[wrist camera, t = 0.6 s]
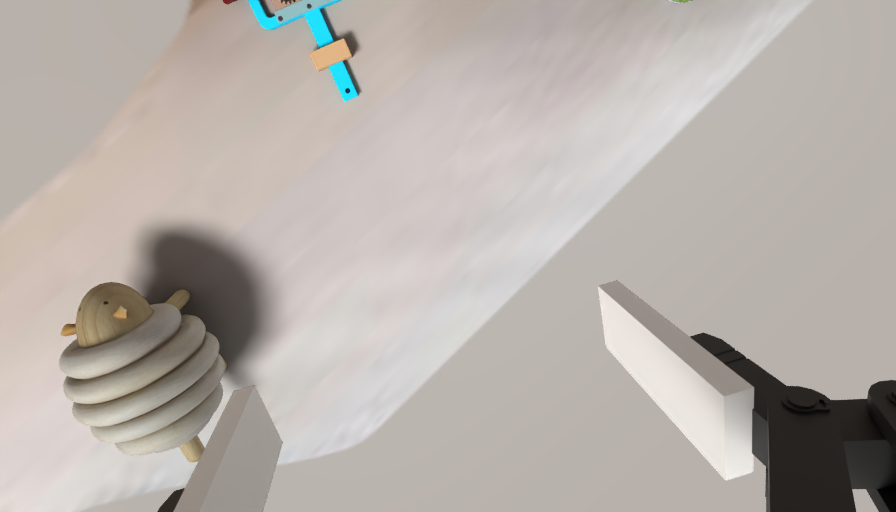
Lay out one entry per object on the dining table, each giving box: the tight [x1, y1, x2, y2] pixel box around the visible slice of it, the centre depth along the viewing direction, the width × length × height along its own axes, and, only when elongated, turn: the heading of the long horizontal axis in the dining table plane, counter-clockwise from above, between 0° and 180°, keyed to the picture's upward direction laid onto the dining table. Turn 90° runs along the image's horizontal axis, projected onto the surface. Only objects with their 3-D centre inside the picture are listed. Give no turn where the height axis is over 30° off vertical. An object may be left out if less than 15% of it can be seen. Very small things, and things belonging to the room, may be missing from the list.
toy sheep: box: [59, 282, 227, 462], centre depth 36 cm, size 11×17×11 cm, turn 20°
